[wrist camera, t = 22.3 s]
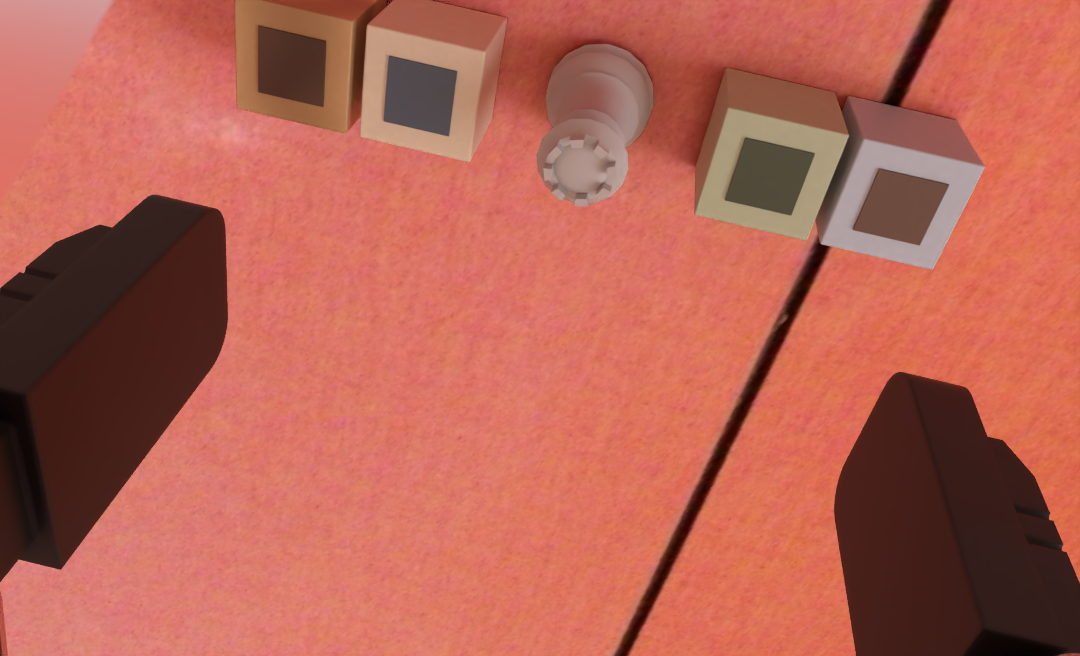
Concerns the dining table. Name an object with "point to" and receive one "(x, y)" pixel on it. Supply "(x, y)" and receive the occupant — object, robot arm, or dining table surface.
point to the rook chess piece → (593, 122)
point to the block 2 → (431, 76)
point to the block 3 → (768, 154)
